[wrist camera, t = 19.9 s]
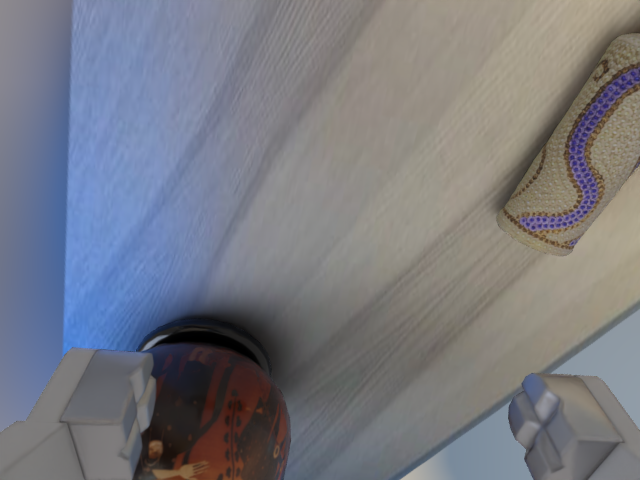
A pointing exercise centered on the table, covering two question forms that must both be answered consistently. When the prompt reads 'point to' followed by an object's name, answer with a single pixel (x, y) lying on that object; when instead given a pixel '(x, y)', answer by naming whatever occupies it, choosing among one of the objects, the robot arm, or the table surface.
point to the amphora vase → (212, 406)
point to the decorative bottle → (582, 157)
